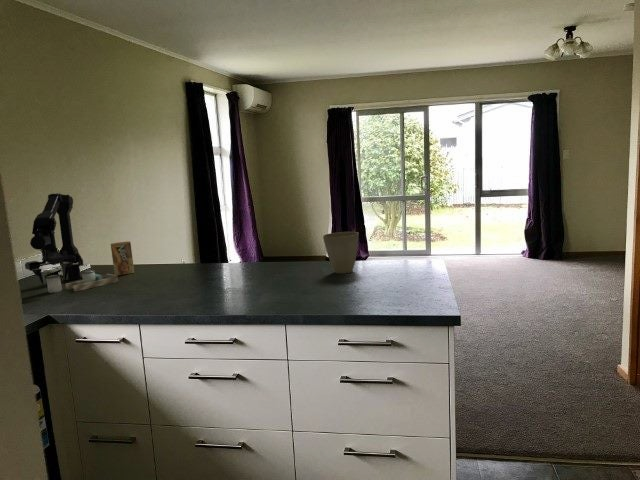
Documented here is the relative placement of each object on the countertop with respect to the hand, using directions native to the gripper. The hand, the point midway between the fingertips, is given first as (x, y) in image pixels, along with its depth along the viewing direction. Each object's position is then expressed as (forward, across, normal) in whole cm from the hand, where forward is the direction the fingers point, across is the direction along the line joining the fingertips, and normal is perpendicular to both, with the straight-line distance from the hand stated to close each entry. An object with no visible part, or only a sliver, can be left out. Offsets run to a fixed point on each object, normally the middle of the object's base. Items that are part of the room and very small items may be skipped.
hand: (53, 281), depth 222 cm
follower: (+4, +16, -6) cm, 17 cm away
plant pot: (+4, +81, -93) cm, 123 cm away
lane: (+4, +13, -6) cm, 15 cm away
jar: (+4, 0, 0) cm, 4 cm away
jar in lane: (+4, +12, -6) cm, 14 cm away
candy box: (+4, +34, +5) cm, 35 cm away
